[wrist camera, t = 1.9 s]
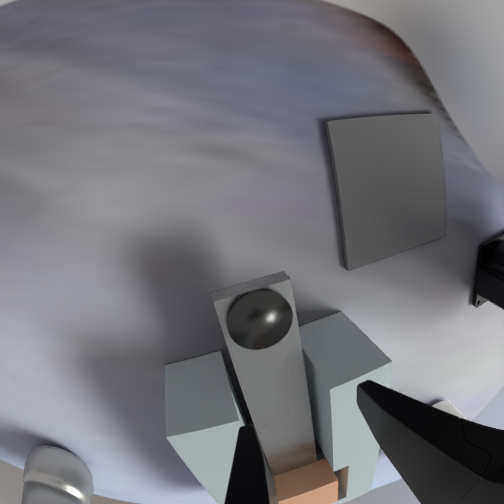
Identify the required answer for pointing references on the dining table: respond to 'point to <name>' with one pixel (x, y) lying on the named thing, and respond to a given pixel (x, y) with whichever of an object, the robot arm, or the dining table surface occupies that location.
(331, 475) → the tile
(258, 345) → the lever
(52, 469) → the plastic bottle
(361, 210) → the pad
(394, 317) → the dining table surface
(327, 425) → the grey-green channel block
